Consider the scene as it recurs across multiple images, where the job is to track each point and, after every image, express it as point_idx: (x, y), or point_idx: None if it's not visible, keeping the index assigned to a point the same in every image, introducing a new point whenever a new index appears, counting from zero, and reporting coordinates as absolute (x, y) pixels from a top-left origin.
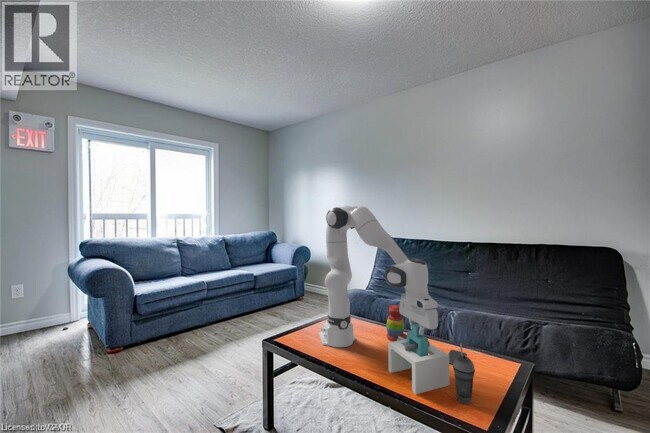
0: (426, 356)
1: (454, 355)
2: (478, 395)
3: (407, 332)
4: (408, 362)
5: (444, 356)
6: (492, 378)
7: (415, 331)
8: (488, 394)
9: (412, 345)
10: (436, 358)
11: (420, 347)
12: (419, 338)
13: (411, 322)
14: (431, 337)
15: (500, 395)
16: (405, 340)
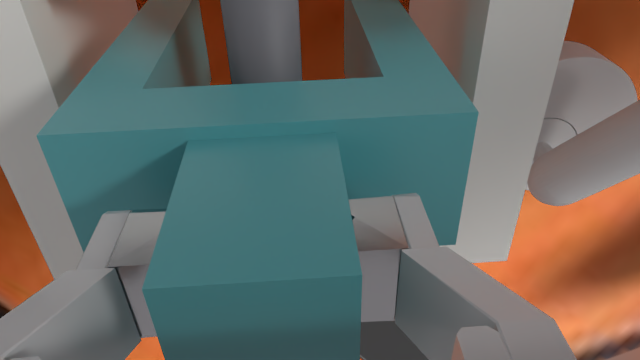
0: (27, 65)
1: (402, 335)
2: (13, 214)
3: (453, 108)
4: (421, 17)
5: (40, 240)
6: (159, 348)
7: (206, 198)
8: (21, 259)
9: (240, 21)
10: (3, 151)
11: (88, 74)
12: (109, 153)
13: (464, 326)
14: (627, 348)
15: (10, 296)
16: (524, 81)
